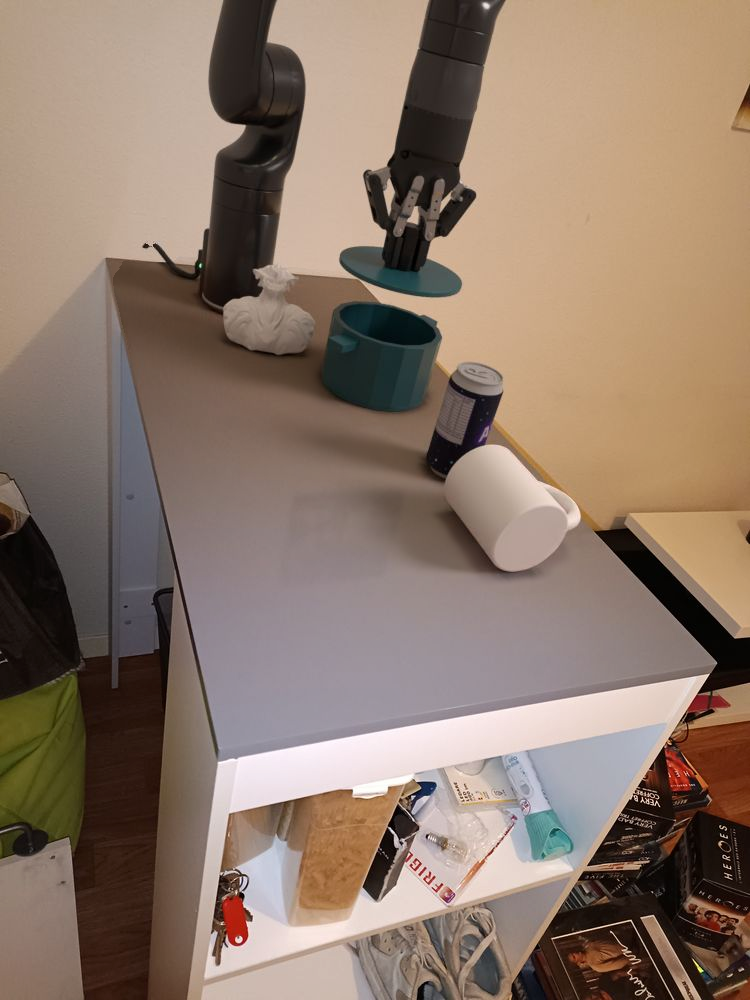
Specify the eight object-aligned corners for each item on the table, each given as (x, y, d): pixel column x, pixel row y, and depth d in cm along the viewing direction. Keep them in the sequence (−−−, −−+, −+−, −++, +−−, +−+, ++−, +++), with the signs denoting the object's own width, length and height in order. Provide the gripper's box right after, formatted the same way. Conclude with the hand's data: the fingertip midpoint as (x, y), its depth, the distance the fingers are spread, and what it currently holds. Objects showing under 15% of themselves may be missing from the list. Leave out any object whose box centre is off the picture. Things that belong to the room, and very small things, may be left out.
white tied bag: (307, 366, 101) (318, 286, 101) (313, 353, 93) (325, 267, 94) (218, 351, 98) (230, 269, 99) (217, 336, 91) (230, 248, 92)
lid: (311, 261, 85) (321, 206, 82) (390, 251, 96) (401, 202, 92) (410, 310, 79) (424, 253, 75) (482, 293, 89) (498, 242, 86)
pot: (284, 377, 92) (294, 312, 87) (379, 350, 105) (393, 293, 100) (365, 427, 86) (381, 360, 81) (455, 392, 99) (473, 333, 94)
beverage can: (471, 490, 79) (506, 391, 73) (420, 475, 79) (450, 375, 73) (475, 464, 84) (508, 369, 77) (427, 450, 84) (456, 354, 78)
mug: (480, 576, 67) (508, 506, 63) (434, 510, 74) (456, 443, 70) (583, 565, 72) (616, 500, 68) (531, 505, 79) (557, 442, 75)
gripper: (481, 111, 83) (440, 262, 92) (366, 86, 77) (336, 250, 87) (512, 125, 77) (466, 285, 87) (391, 100, 72) (356, 274, 81)
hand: (401, 267), depth 87 cm, fingers closed on lid, 2 cm apart
